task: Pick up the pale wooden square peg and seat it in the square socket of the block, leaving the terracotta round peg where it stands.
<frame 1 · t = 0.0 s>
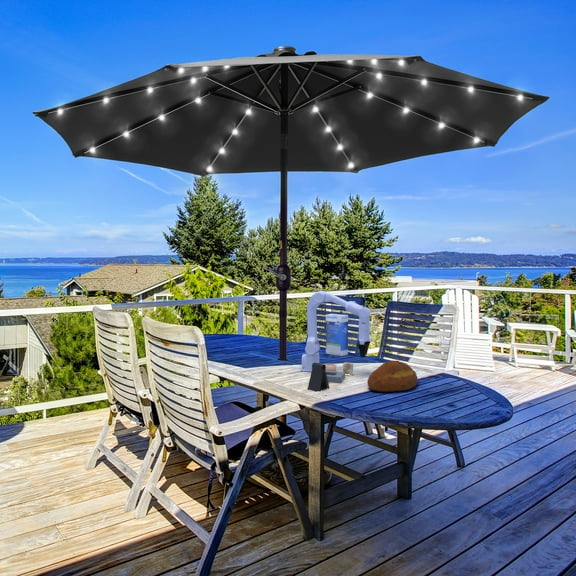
hand: (363, 355, 247), 10 cm above the table, tool pointing down, fingers open, 7 cm apart
socket block: (330, 379, 237), on the table
phone stand: (318, 389, 219), on the table
round peg: (330, 374, 248), on the table
string lights box: (336, 354, 303), on the table
bread: (392, 387, 224), on the table
square peg: (347, 374, 248), on the table
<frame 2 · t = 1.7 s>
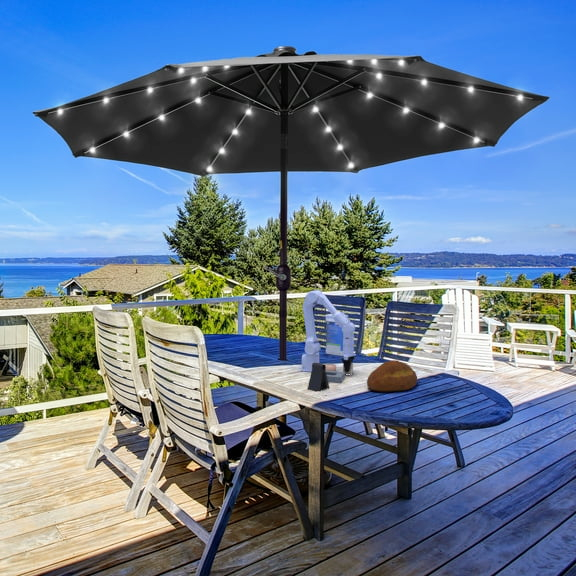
hand: (348, 370, 248), 2 cm above the table, tool pointing down, fingers closed on square peg, 4 cm apart
square peg: (347, 374, 248), on the table, touching gripper
everything else where it was.
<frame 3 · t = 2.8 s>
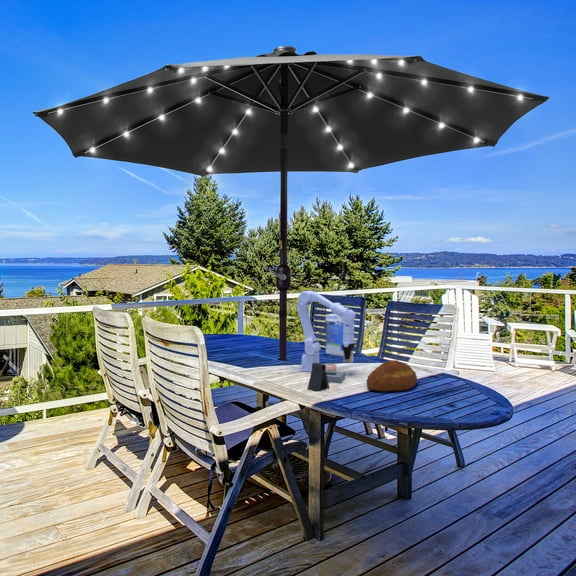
hand: (348, 358, 248), 9 cm above the table, tool pointing down, fingers closed on square peg, 4 cm apart
square peg: (348, 362, 248), point 7 cm above the table, touching gripper
everything else where it was.
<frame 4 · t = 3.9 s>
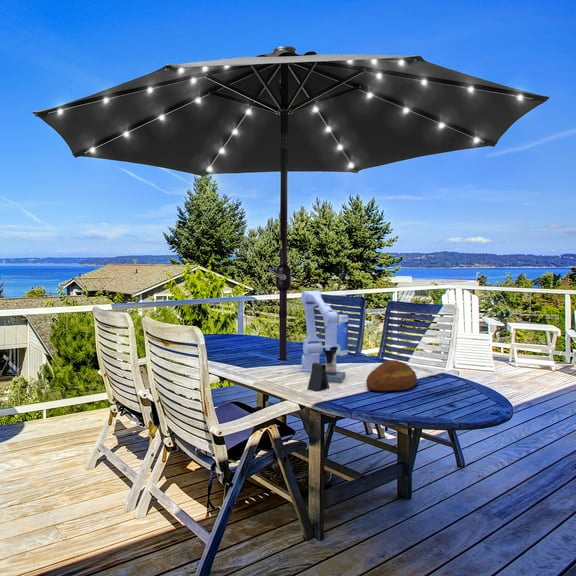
hand: (330, 362, 236), 9 cm above the table, tool pointing down, fingers closed on square peg, 4 cm apart
square peg: (330, 366, 236), point 7 cm above the table, touching gripper
everything else where it was.
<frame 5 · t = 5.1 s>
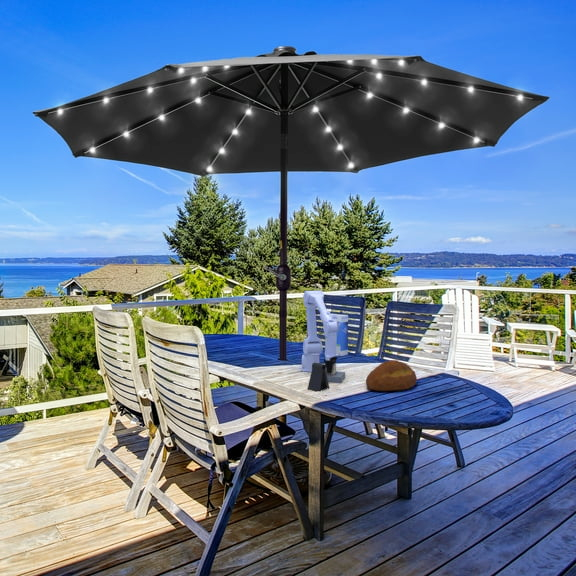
hand: (330, 371, 237), 4 cm above the table, tool pointing down, fingers closed on square peg, 4 cm apart
square peg: (330, 375, 237), point 2 cm above the table, touching gripper
everything else where it was.
when the fingers open (4 cm above the table, at t = 6.0 s): square peg drops 1 cm, resting on socket block.
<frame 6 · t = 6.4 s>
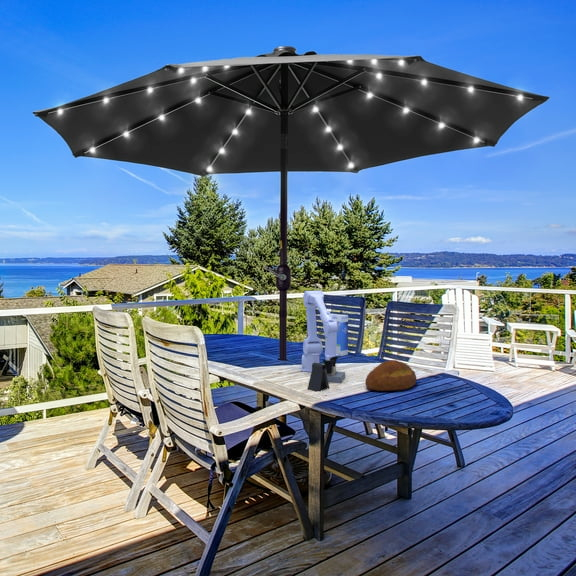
hand: (330, 371, 237), 4 cm above the table, tool pointing down, fingers open, 7 cm apart
square peg: (330, 378, 237), resting on socket block
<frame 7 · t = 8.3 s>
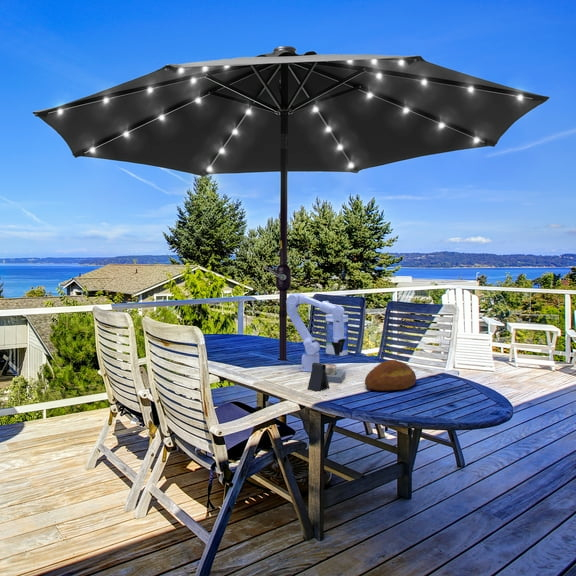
hand: (338, 353, 251), 10 cm above the table, tool pointing down, fingers open, 7 cm apart
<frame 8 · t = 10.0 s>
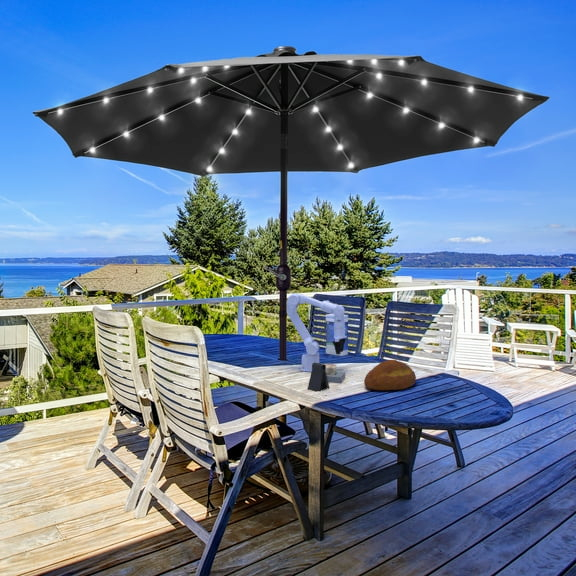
hand: (339, 352, 253), 10 cm above the table, tool pointing down, fingers open, 7 cm apart
at the end: square peg 0.1 cm off-centre on the socket block, point 0.4 cm above the socket block's base; square peg tilted 0°; the gripper is holding nothing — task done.
